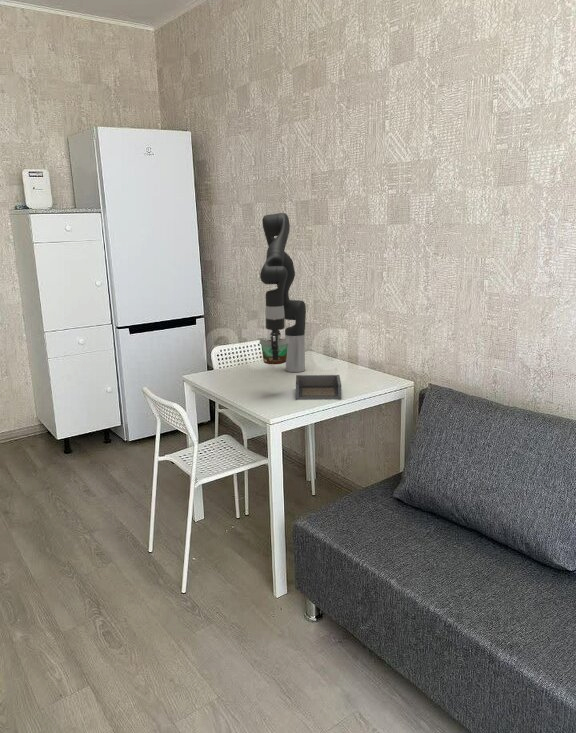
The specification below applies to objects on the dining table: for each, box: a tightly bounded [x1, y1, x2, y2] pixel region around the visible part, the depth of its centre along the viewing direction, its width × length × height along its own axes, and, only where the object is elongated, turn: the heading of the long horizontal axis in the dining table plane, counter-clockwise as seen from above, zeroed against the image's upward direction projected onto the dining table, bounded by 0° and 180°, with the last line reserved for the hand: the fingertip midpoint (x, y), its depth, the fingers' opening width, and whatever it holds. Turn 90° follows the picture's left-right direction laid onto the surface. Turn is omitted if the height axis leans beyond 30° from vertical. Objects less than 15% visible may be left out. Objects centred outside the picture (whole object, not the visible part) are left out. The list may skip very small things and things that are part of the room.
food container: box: [258, 337, 289, 365], centre depth 241 cm, size 12×6×10 cm, turn 103°
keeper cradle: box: [295, 374, 342, 401], centre depth 245 cm, size 15×18×6 cm
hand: (276, 358), depth 243 cm, fingers closed on food container, 5 cm apart
